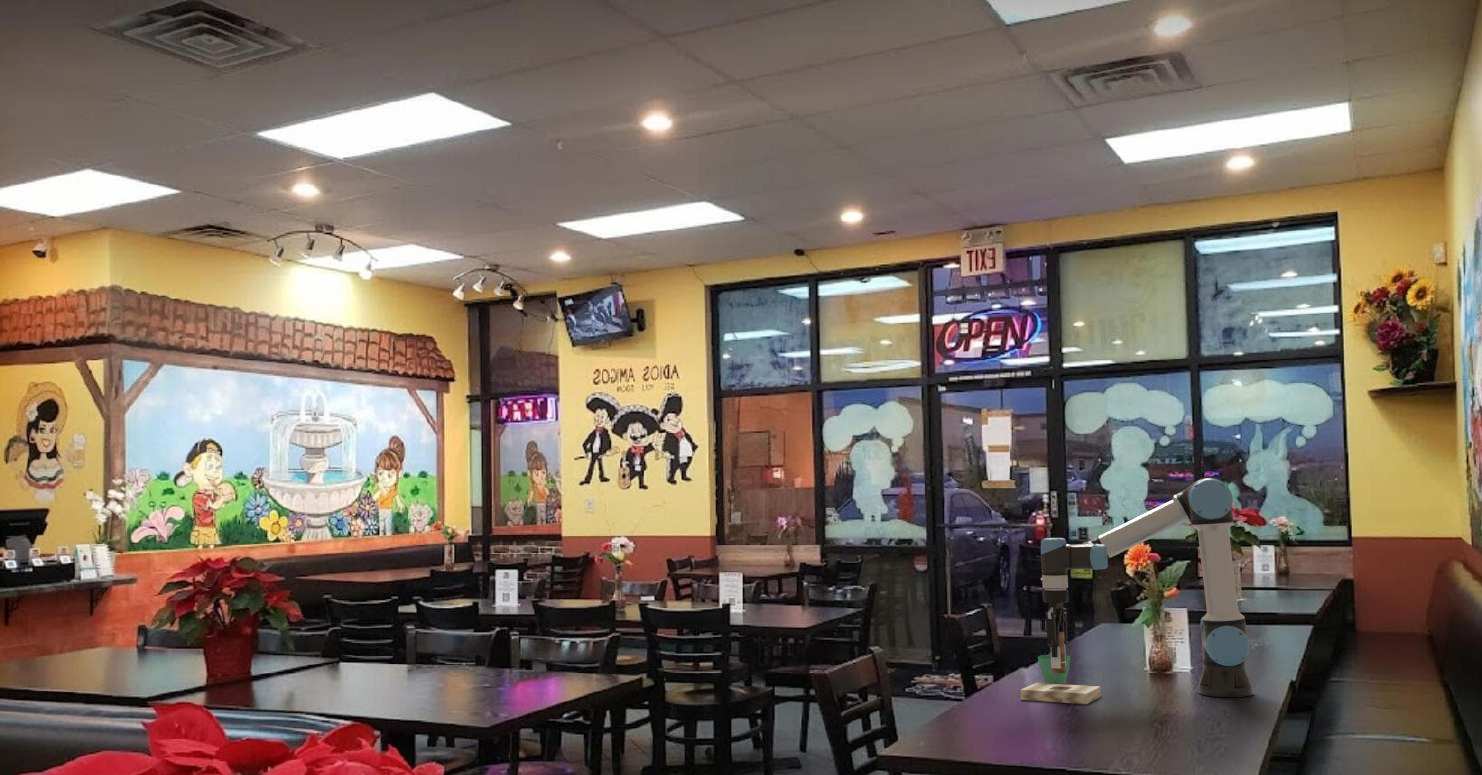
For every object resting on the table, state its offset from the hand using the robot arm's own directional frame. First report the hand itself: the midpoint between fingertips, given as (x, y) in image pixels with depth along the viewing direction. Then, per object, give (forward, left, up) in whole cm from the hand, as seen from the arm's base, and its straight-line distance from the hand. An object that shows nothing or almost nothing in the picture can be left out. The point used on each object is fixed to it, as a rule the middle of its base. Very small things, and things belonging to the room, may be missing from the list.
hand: (1058, 666), depth 363 cm
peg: (0, 0, -2) cm, 2 cm away
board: (0, 0, -9) cm, 9 cm away
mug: (+7, -18, -10) cm, 22 cm away
